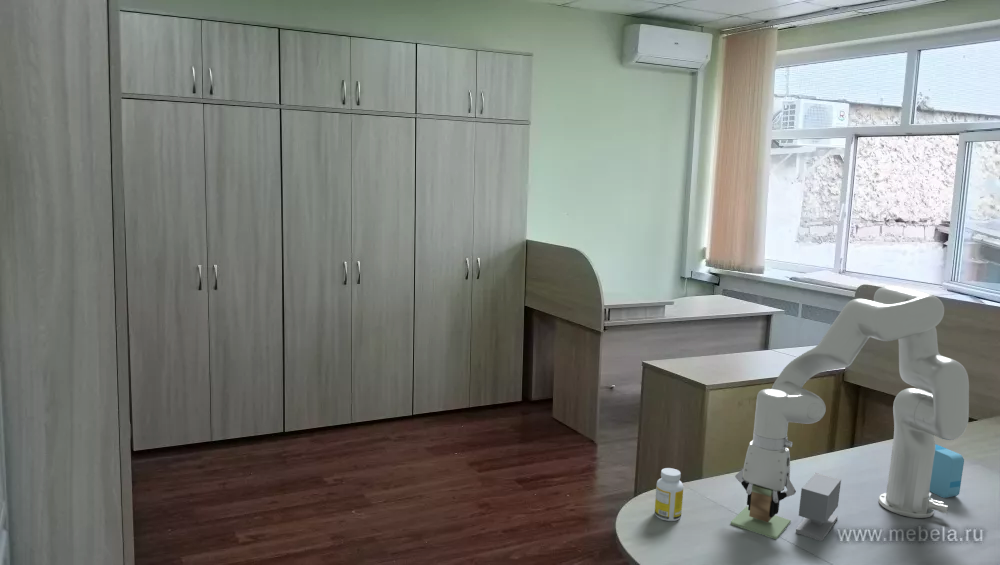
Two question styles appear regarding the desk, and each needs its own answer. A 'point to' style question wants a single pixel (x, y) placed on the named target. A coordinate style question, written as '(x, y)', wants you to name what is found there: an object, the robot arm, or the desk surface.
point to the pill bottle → (669, 495)
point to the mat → (761, 524)
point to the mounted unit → (818, 506)
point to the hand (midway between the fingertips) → (762, 511)
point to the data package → (946, 472)
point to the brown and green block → (760, 503)
